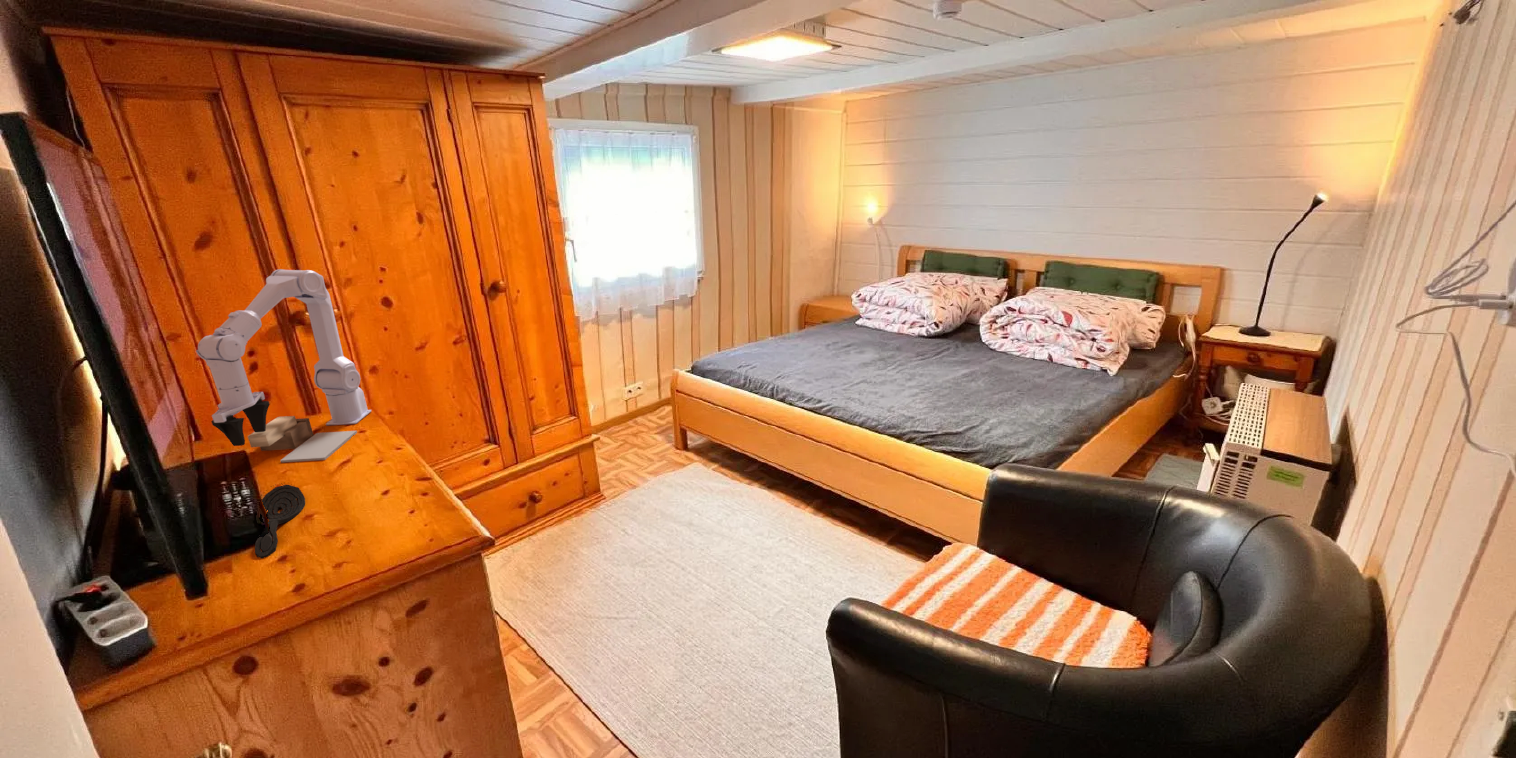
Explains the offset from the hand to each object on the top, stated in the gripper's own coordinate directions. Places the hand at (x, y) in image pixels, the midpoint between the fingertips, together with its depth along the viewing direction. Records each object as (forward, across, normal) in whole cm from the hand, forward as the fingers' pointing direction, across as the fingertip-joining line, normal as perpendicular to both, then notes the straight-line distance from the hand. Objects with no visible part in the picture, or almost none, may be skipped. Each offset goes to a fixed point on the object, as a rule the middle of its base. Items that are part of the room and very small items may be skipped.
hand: (250, 438), depth 141 cm
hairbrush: (+8, +29, +20) cm, 36 cm away
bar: (+3, -8, 0) cm, 9 cm away
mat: (+7, -8, +10) cm, 15 cm away
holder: (+7, -12, 0) cm, 14 cm away
